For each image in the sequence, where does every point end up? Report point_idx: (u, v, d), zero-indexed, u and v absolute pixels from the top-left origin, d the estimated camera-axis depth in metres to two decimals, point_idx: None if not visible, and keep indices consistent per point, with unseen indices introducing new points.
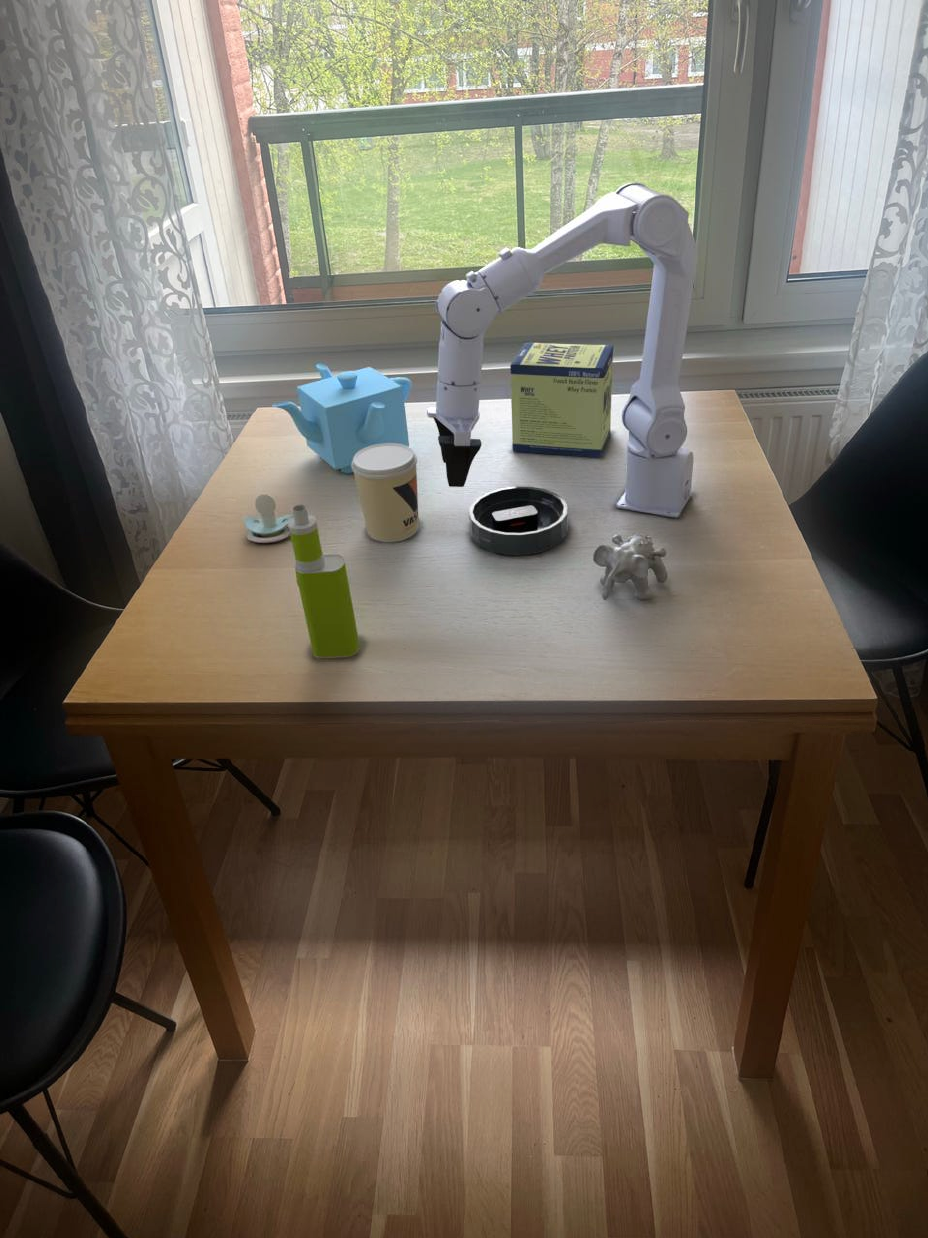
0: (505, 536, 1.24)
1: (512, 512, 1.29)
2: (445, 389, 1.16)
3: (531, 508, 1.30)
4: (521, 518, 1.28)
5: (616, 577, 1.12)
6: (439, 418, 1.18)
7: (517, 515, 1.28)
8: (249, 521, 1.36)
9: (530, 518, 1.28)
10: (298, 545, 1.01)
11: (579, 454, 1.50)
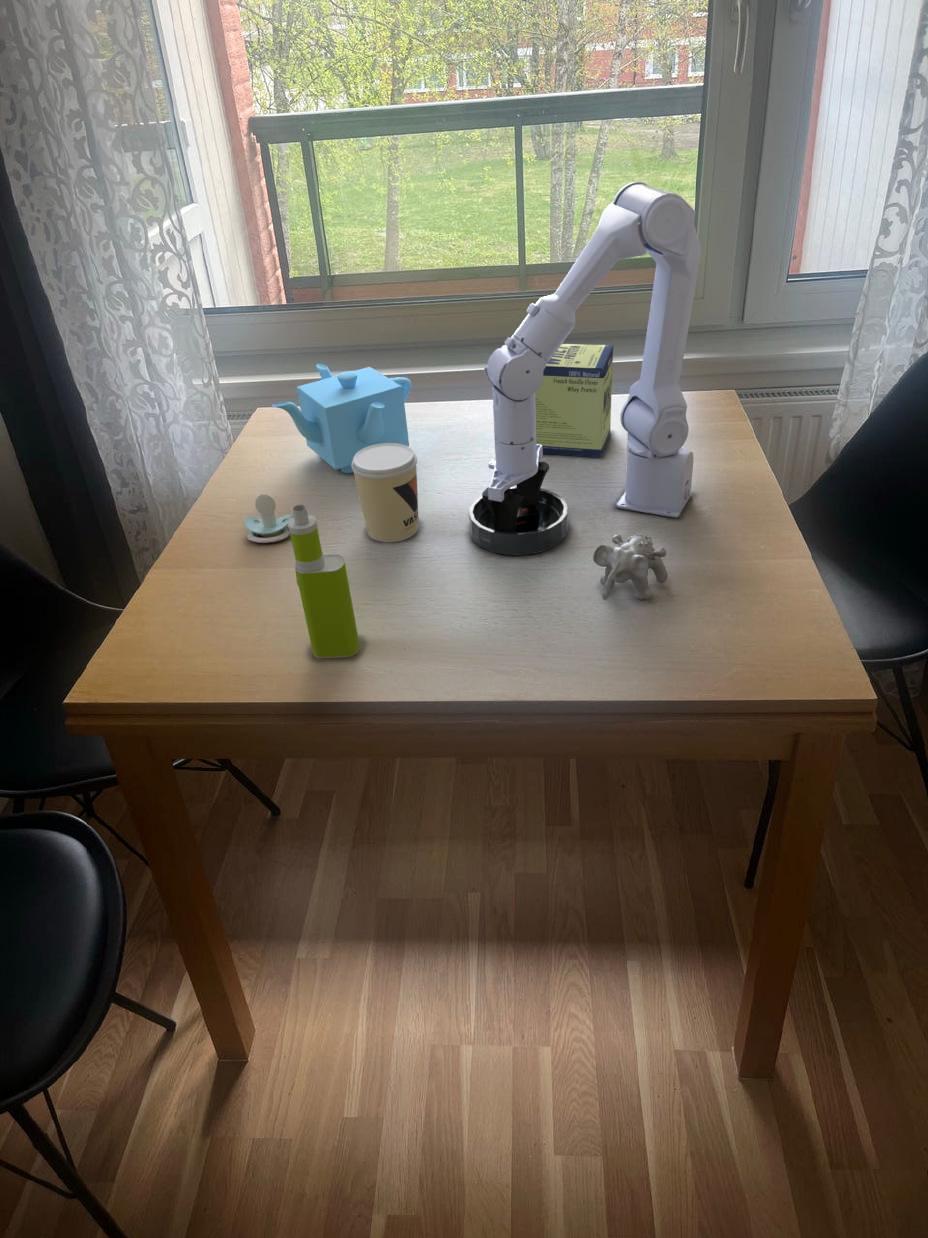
0: (505, 536, 1.24)
1: None
2: (497, 445, 1.23)
3: (532, 507, 1.30)
4: (522, 517, 1.28)
5: (616, 577, 1.12)
6: None
7: (518, 515, 1.28)
8: (249, 521, 1.36)
9: (531, 517, 1.28)
10: (298, 545, 1.01)
11: (579, 454, 1.50)
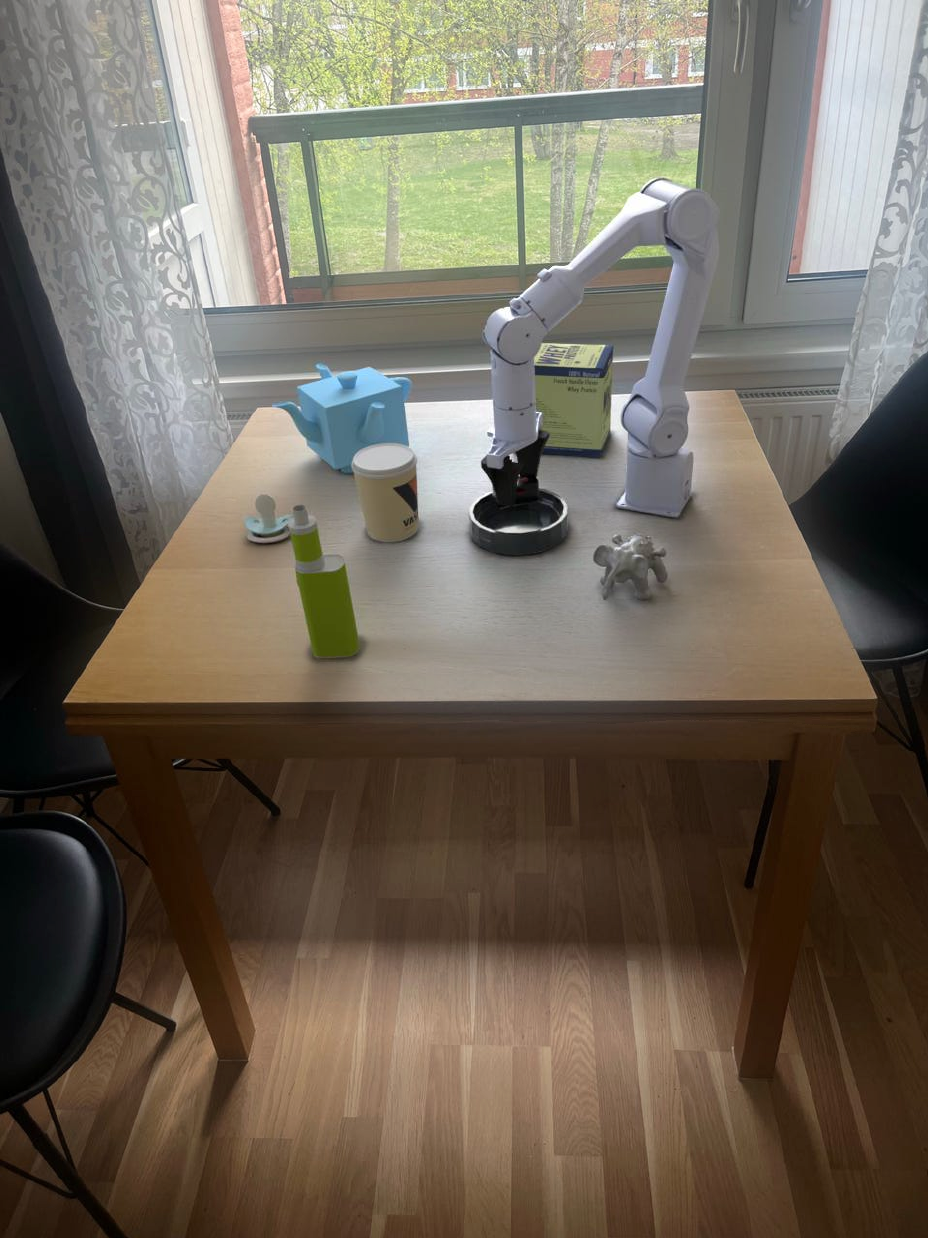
0: (505, 536, 1.24)
1: None
2: None
3: (532, 477, 1.27)
4: (522, 487, 1.25)
5: (616, 577, 1.12)
6: None
7: (517, 484, 1.25)
8: (249, 521, 1.36)
9: (531, 486, 1.26)
10: (298, 545, 1.01)
11: (579, 454, 1.50)
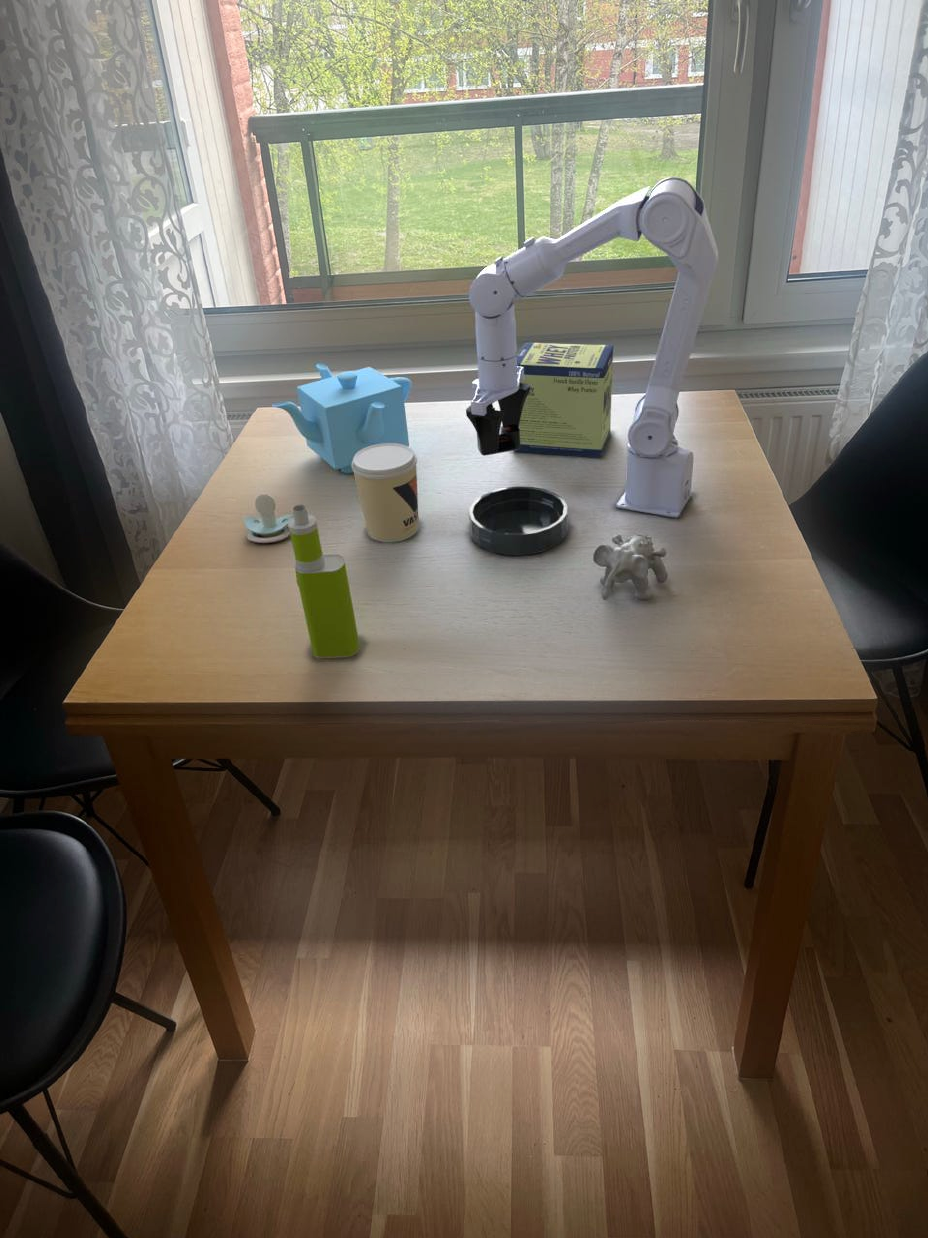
0: (505, 536, 1.24)
1: None
2: None
3: (514, 426, 1.36)
4: (504, 435, 1.34)
5: (616, 577, 1.12)
6: (477, 388, 1.32)
7: (500, 433, 1.35)
8: (249, 521, 1.36)
9: (513, 435, 1.35)
10: (298, 545, 1.01)
11: (579, 454, 1.50)
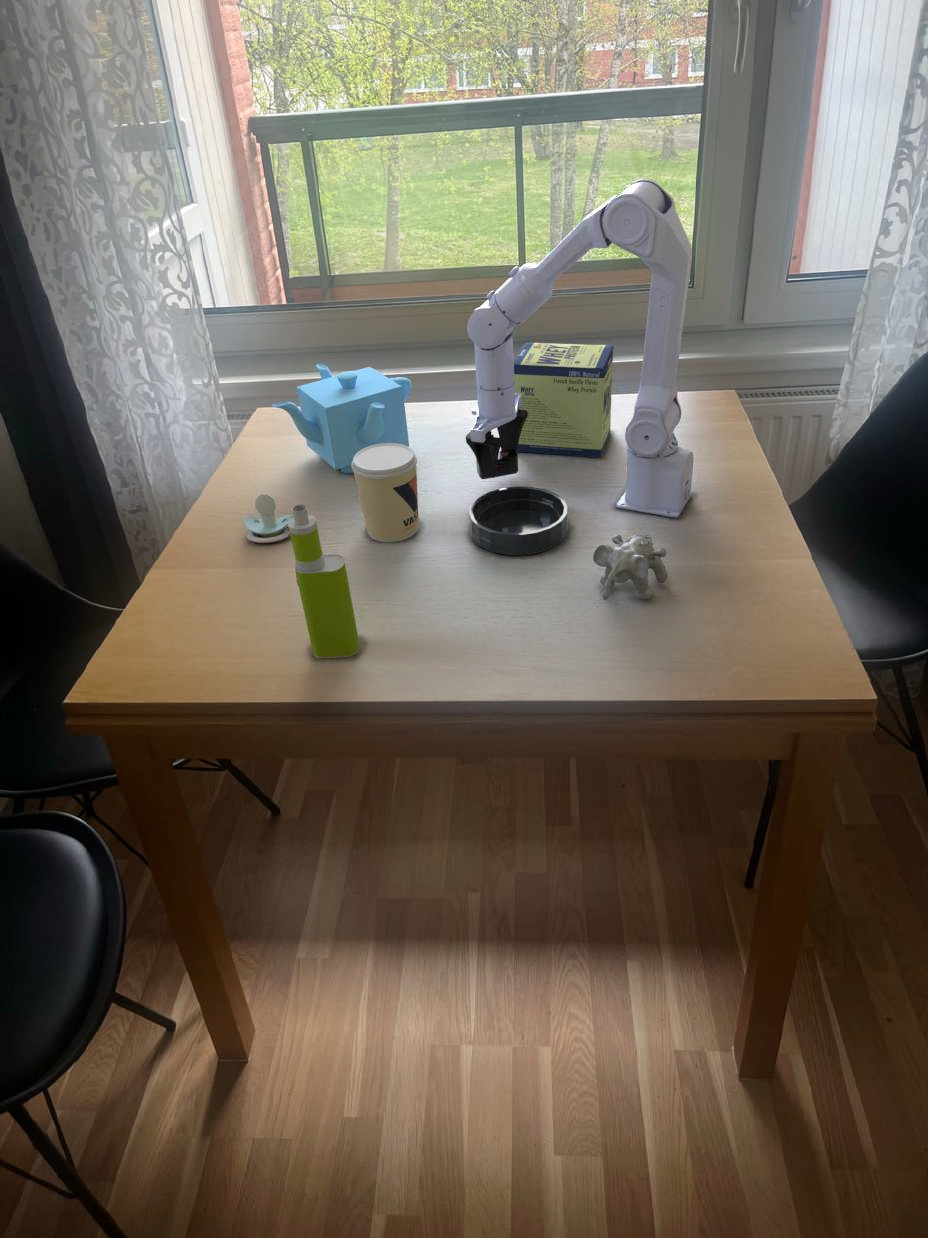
0: (505, 536, 1.24)
1: None
2: (479, 391, 1.35)
3: (512, 451, 1.42)
4: (502, 460, 1.40)
5: (616, 577, 1.12)
6: None
7: (499, 457, 1.40)
8: (249, 521, 1.36)
9: (511, 460, 1.40)
10: (298, 545, 1.01)
11: (579, 454, 1.50)
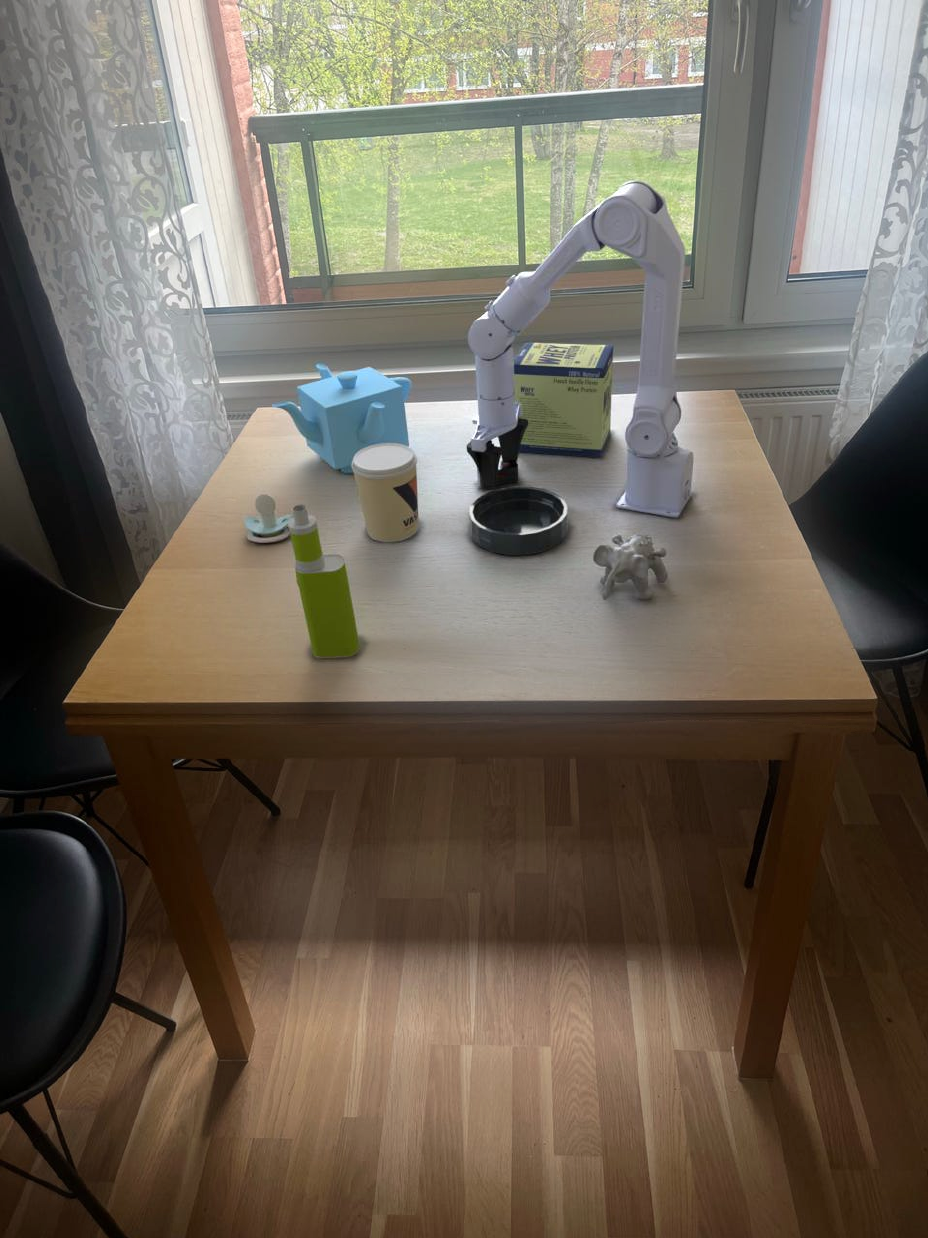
0: (505, 536, 1.24)
1: None
2: None
3: (512, 462, 1.43)
4: (503, 470, 1.41)
5: (616, 577, 1.12)
6: (477, 425, 1.38)
7: (499, 468, 1.41)
8: (249, 521, 1.36)
9: (511, 470, 1.41)
10: (298, 545, 1.01)
11: (579, 454, 1.50)
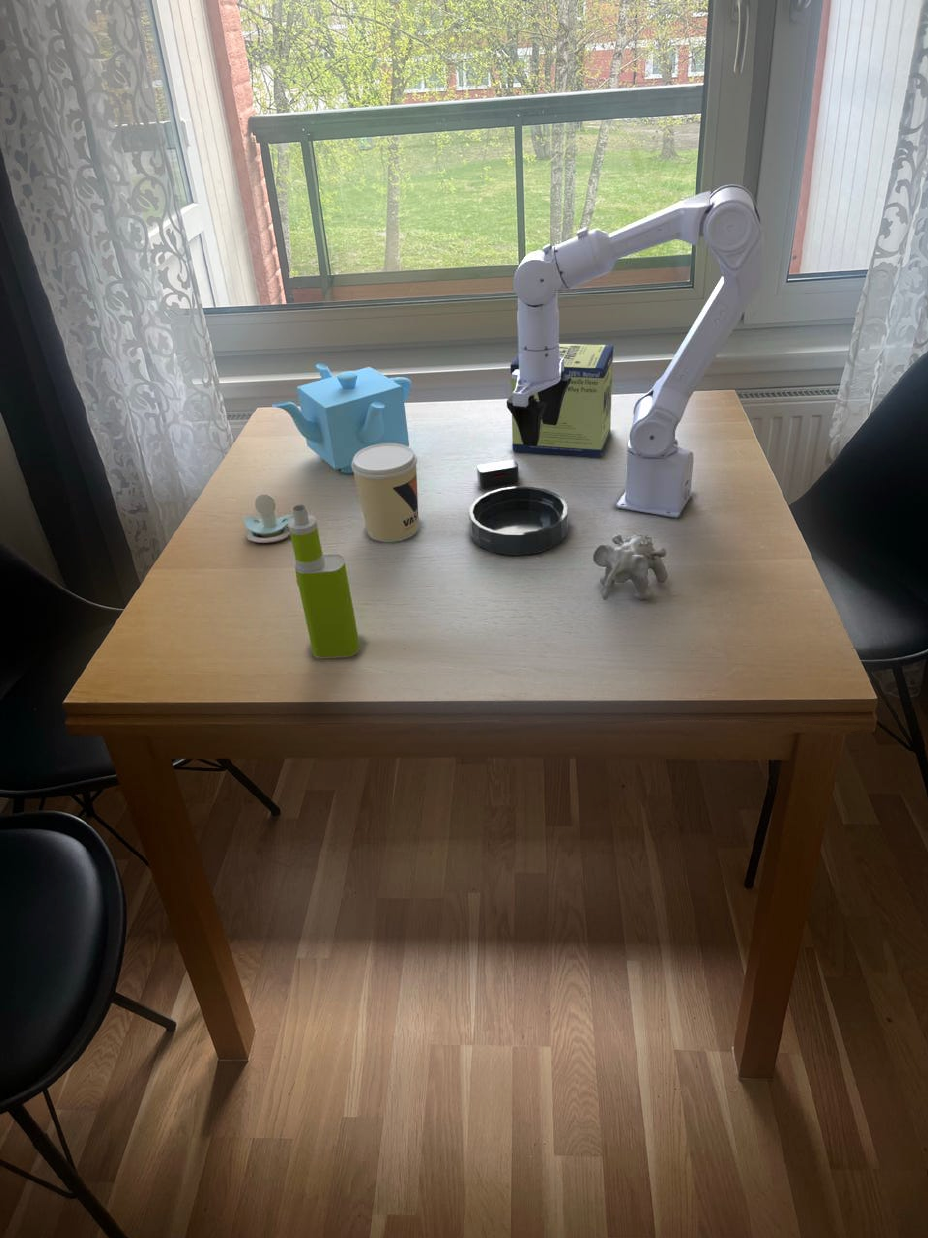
0: (505, 536, 1.24)
1: (495, 465, 1.42)
2: (520, 353, 1.26)
3: (512, 462, 1.43)
4: (503, 470, 1.41)
5: (616, 577, 1.12)
6: None
7: (499, 468, 1.41)
8: (249, 521, 1.36)
9: (511, 470, 1.41)
10: (298, 545, 1.01)
11: (579, 454, 1.50)
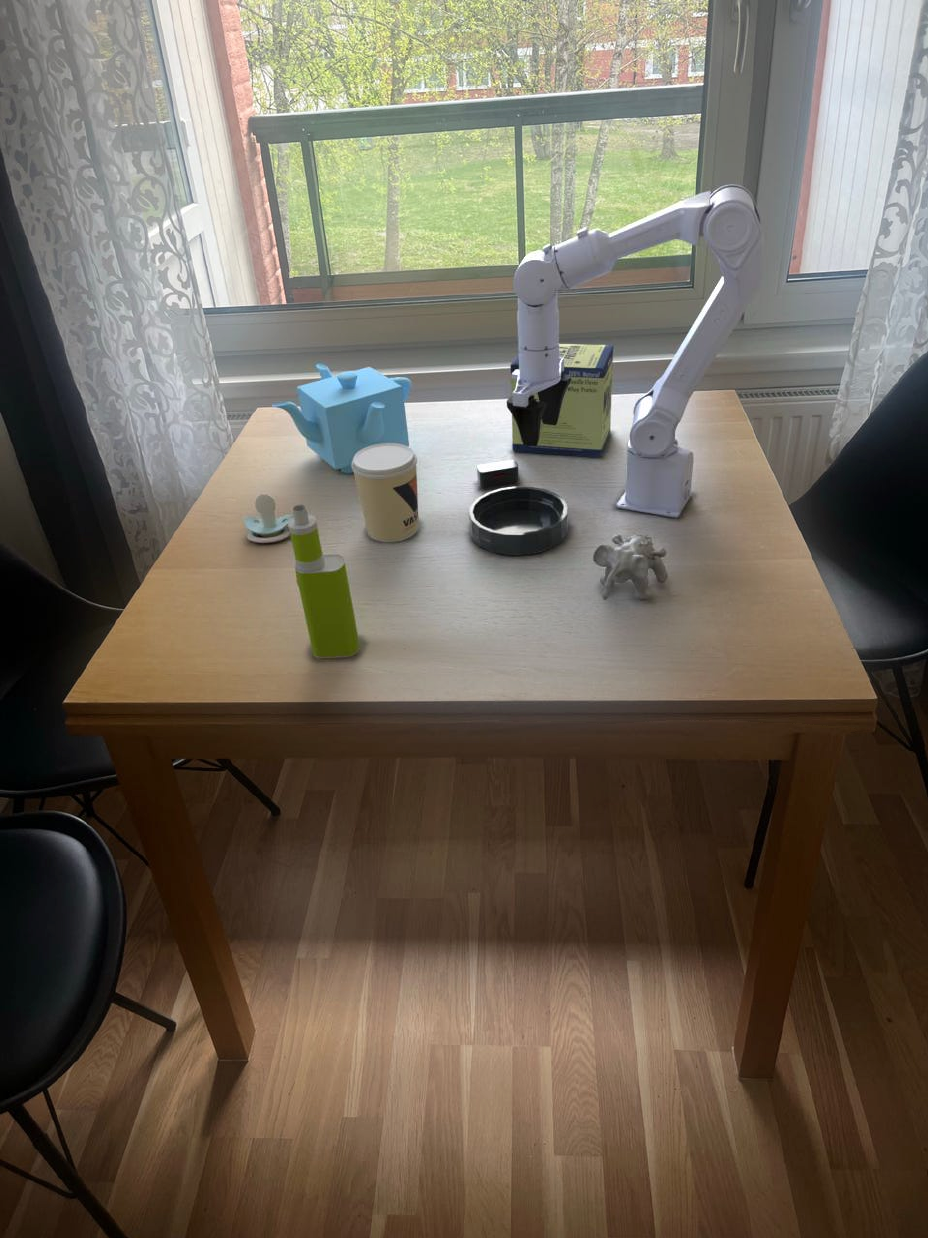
0: (505, 536, 1.24)
1: (495, 465, 1.42)
2: (520, 353, 1.26)
3: (512, 462, 1.43)
4: (503, 470, 1.41)
5: (616, 577, 1.12)
6: None
7: (499, 468, 1.41)
8: (249, 521, 1.36)
9: (511, 470, 1.41)
10: (298, 545, 1.01)
11: (579, 454, 1.50)
